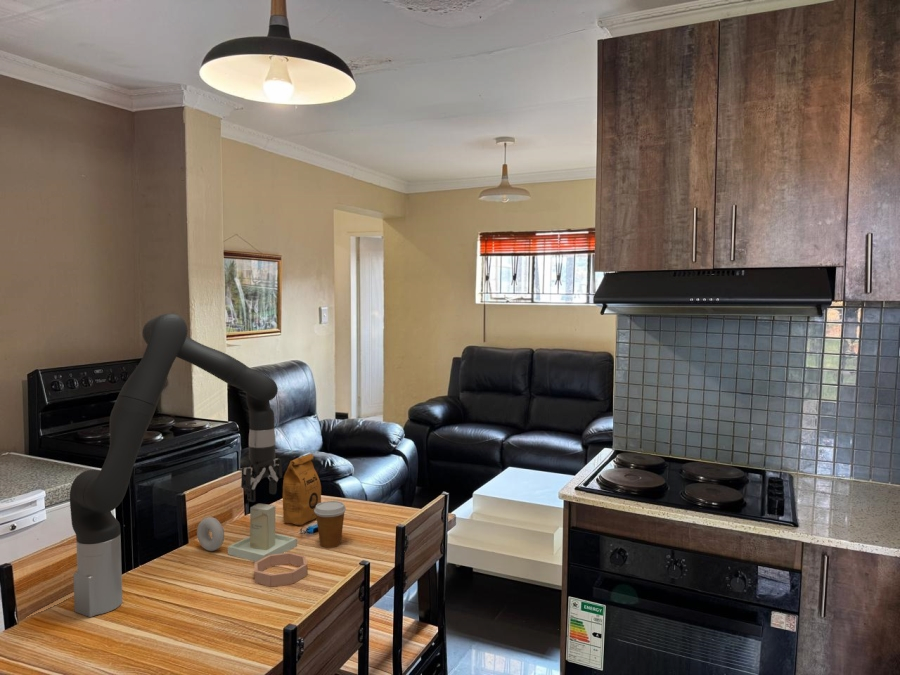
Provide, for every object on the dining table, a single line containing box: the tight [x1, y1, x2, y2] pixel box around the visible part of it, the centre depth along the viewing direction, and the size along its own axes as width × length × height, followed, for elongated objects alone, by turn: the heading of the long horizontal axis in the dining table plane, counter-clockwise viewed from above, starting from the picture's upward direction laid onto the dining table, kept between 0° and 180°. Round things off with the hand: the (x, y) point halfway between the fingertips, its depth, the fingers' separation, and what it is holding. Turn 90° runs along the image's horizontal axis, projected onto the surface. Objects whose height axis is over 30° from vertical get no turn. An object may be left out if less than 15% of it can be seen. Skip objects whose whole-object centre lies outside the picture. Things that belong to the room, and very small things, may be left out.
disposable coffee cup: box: [314, 500, 347, 549], centre depth 184 cm, size 10×10×12 cm
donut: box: [196, 516, 225, 552], centre depth 179 cm, size 10×4×10 cm, turn 61°
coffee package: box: [282, 453, 322, 525], centre depth 204 cm, size 10×12×22 cm
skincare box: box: [249, 502, 277, 550], centre depth 179 cm, size 6×4×12 cm
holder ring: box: [253, 551, 308, 588], centre depth 163 cm, size 14×14×3 cm
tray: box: [227, 532, 298, 563], centre depth 179 cm, size 14×14×2 cm
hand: (262, 497), depth 178 cm, fingers open, 8 cm apart
